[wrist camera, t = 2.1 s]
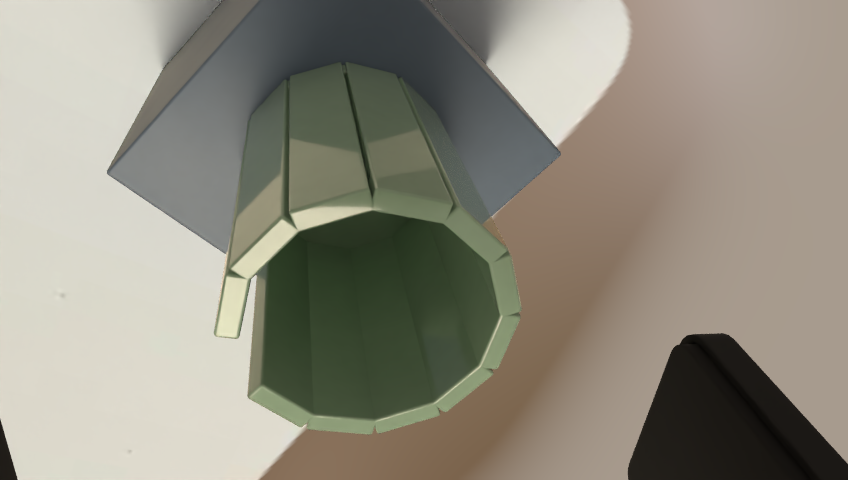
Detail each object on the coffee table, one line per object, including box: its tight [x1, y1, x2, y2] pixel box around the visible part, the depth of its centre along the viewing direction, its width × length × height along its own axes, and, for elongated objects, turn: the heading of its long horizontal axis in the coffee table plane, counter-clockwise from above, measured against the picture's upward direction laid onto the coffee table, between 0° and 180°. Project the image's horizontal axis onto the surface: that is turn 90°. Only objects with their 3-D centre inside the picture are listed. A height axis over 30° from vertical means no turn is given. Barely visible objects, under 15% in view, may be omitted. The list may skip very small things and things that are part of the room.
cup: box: [214, 62, 522, 434], centre depth 14 cm, size 5×5×6 cm
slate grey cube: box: [107, 0, 561, 275], centre depth 20 cm, size 8×8×8 cm
